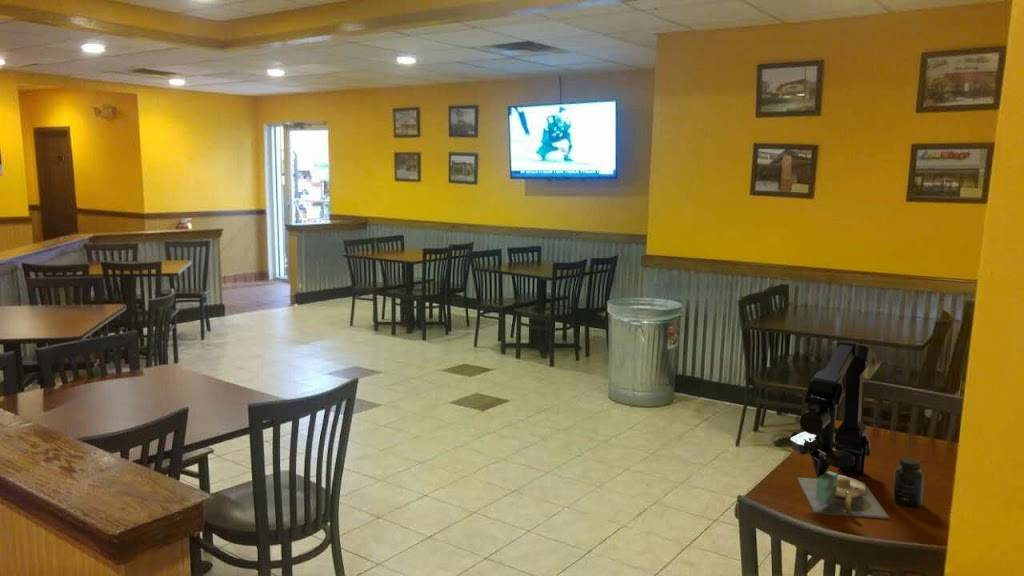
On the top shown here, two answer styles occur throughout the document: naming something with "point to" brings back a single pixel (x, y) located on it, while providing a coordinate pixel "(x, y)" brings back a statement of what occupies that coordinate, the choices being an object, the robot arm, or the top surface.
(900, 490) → the supplement bottle
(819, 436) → the robot arm
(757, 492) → the top surface
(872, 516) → the base
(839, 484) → the flange
